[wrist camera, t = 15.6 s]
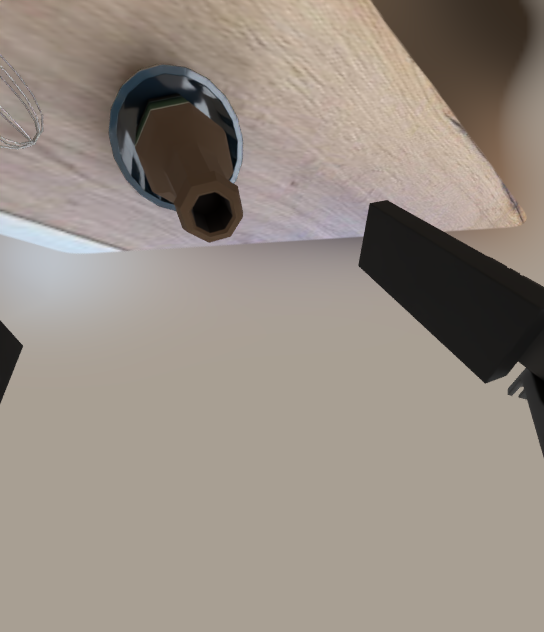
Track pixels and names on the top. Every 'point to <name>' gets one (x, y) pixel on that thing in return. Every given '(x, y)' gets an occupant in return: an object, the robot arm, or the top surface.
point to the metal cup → (160, 84)
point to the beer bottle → (189, 166)
